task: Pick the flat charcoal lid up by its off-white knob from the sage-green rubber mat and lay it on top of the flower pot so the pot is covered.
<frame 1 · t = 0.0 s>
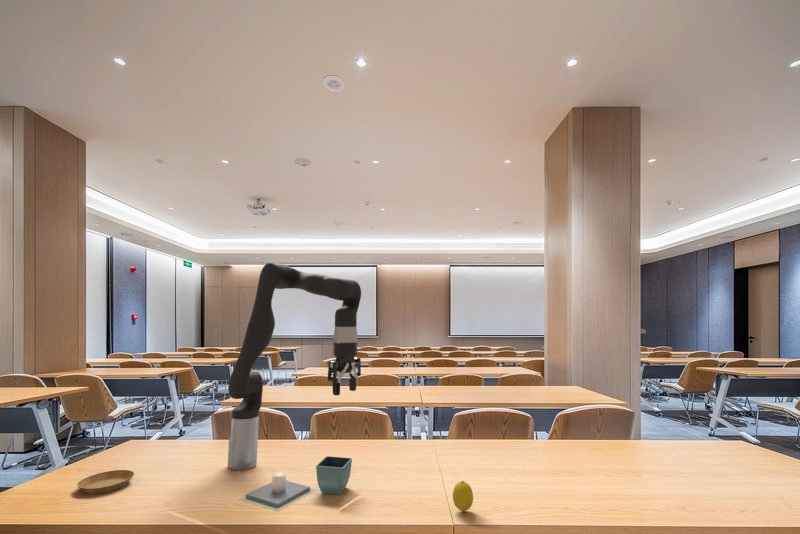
hand: (344, 392, 126), 29 cm above the table, tool pointing down, fingers open, 8 cm apart
lemon: (463, 512, 108), on the table
plant saucer: (105, 487, 127), on the table
flower pot: (333, 493, 121), on the table
mat: (278, 496, 119), on the table
lid: (278, 494, 119), point 1 cm above the table, touching mat
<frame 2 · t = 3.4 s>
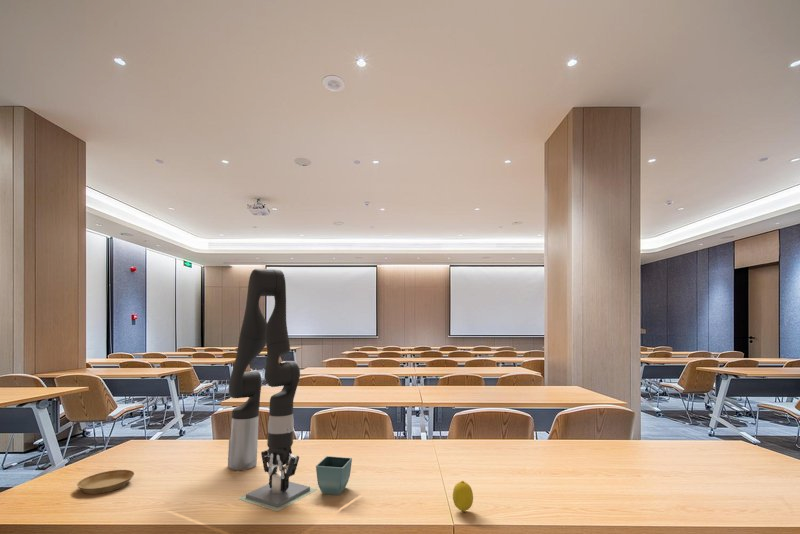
hand: (278, 488, 119), 2 cm above the table, tool pointing down, fingers closed on lid, 4 cm apart
lid: (278, 494, 119), point 1 cm above the table, touching gripper, mat
everything else where it was.
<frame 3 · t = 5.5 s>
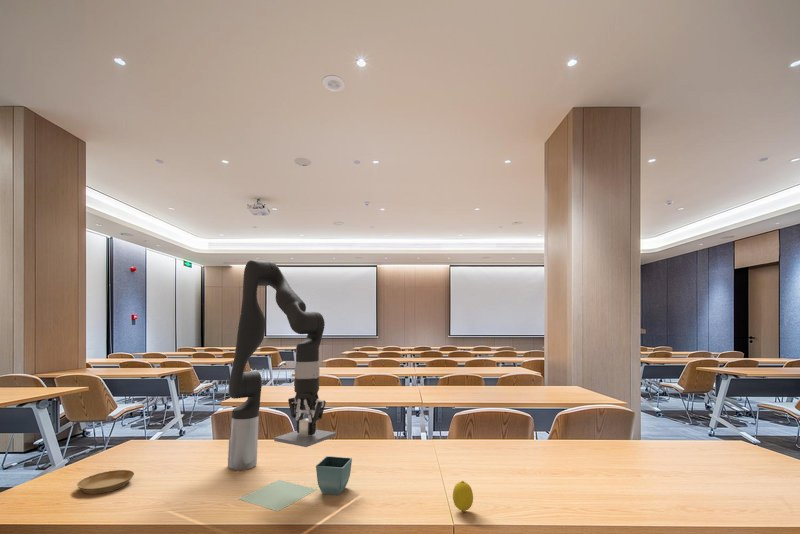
hand: (306, 433, 122), 18 cm above the table, tool pointing down, fingers closed on lid, 4 cm apart
lid: (305, 438, 121), point 16 cm above the table, touching gripper
everything else where it was.
when the fingers open (12 cm above the table, at t = 7.8 s): lid drops 2 cm, resting on flower pot.
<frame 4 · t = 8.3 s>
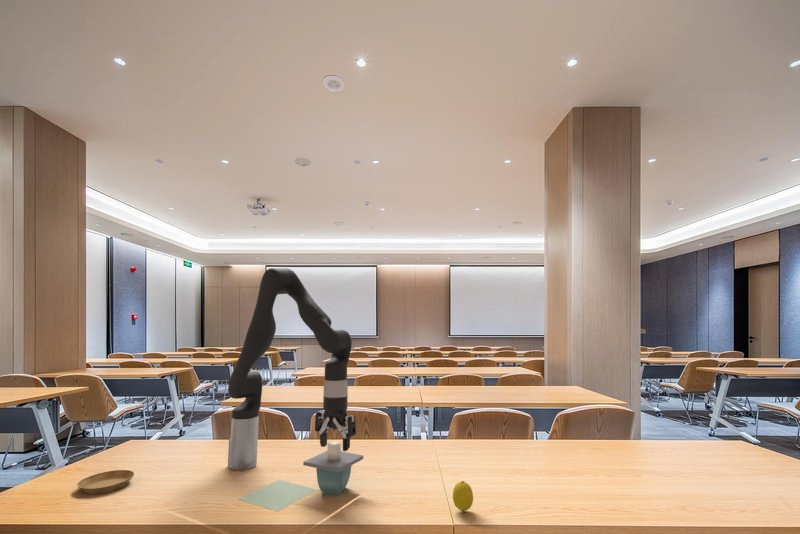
hand: (334, 448, 123), 13 cm above the table, tool pointing down, fingers open, 8 cm apart
flower pot: (334, 493, 121), on the table, touching lid
lid: (334, 461, 122), point 9 cm above the table, touching flower pot
everything else where it was.
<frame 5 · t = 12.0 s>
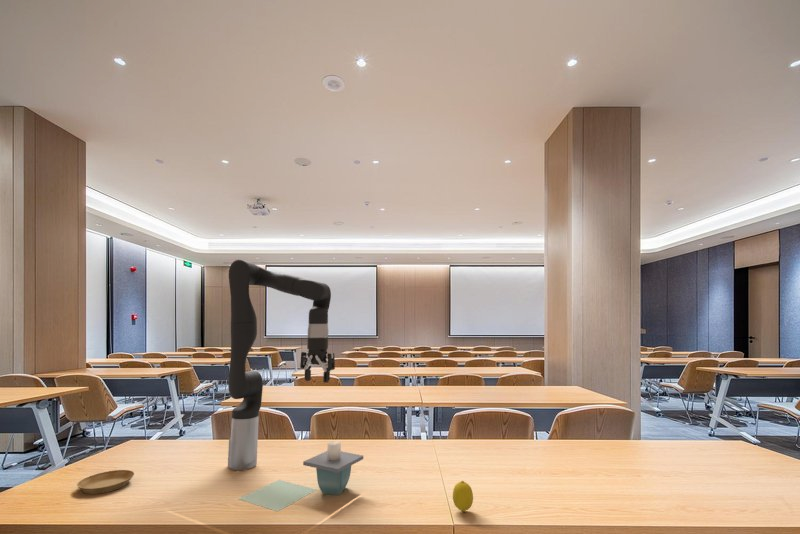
hand: (316, 381, 144), 30 cm above the table, tool pointing down, fingers open, 8 cm apart
nothing on the table moved.
at the end: lid 0.2 cm from the flower pot (horizontally); lid point 8.9 cm above the table; lid tilted 0° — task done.
